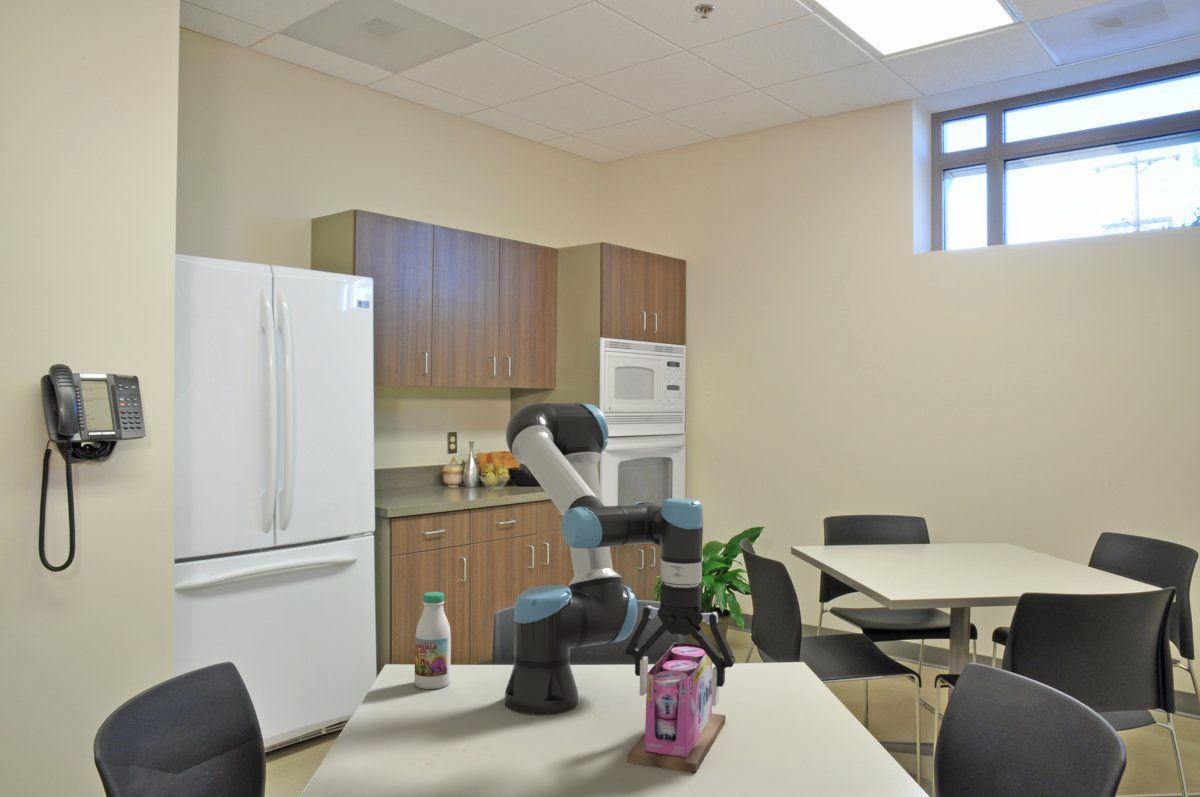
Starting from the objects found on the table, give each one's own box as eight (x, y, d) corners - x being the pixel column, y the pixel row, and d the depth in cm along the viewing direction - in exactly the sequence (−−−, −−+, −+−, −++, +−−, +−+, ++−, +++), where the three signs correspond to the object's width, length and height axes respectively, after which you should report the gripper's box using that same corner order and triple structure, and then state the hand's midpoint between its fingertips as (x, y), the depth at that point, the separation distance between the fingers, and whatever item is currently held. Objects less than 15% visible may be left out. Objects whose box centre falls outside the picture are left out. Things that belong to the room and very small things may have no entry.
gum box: (686, 761, 145) (687, 681, 146) (641, 755, 148) (642, 676, 148) (712, 714, 168) (713, 644, 168) (673, 709, 171) (673, 641, 171)
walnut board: (627, 762, 148) (627, 753, 148) (665, 714, 172) (665, 707, 172) (695, 773, 144) (695, 764, 144) (725, 722, 168) (725, 715, 168)
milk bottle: (421, 678, 194) (422, 589, 194) (454, 680, 193) (455, 590, 193) (409, 689, 186) (410, 596, 186) (443, 691, 185) (445, 597, 185)
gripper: (610, 581, 159) (608, 695, 159) (745, 593, 151) (742, 714, 151) (623, 573, 166) (620, 683, 166) (752, 585, 158) (749, 700, 158)
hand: (678, 698), depth 159 cm, fingers open, 13 cm apart
